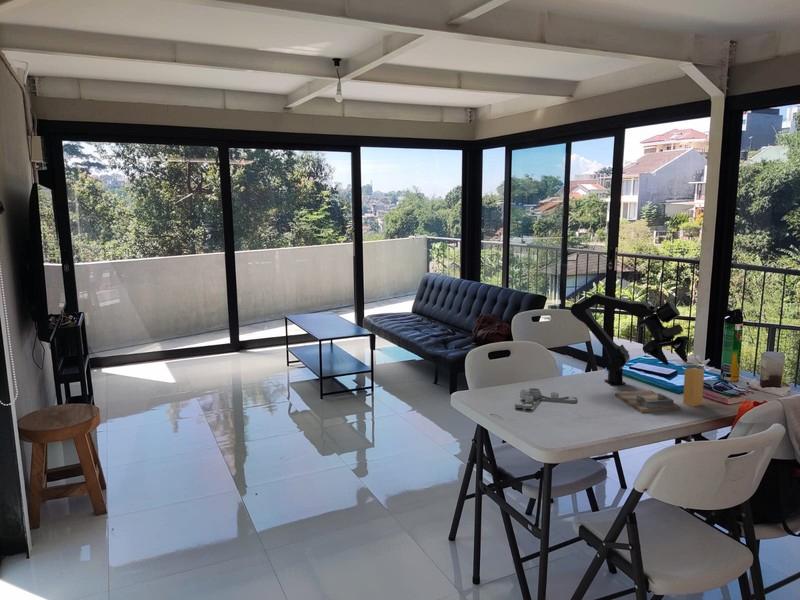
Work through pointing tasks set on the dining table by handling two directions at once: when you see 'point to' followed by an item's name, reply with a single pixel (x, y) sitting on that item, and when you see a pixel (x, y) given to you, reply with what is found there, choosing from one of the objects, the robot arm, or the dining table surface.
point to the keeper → (647, 401)
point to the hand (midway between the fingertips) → (677, 363)
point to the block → (693, 386)
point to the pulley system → (535, 394)
